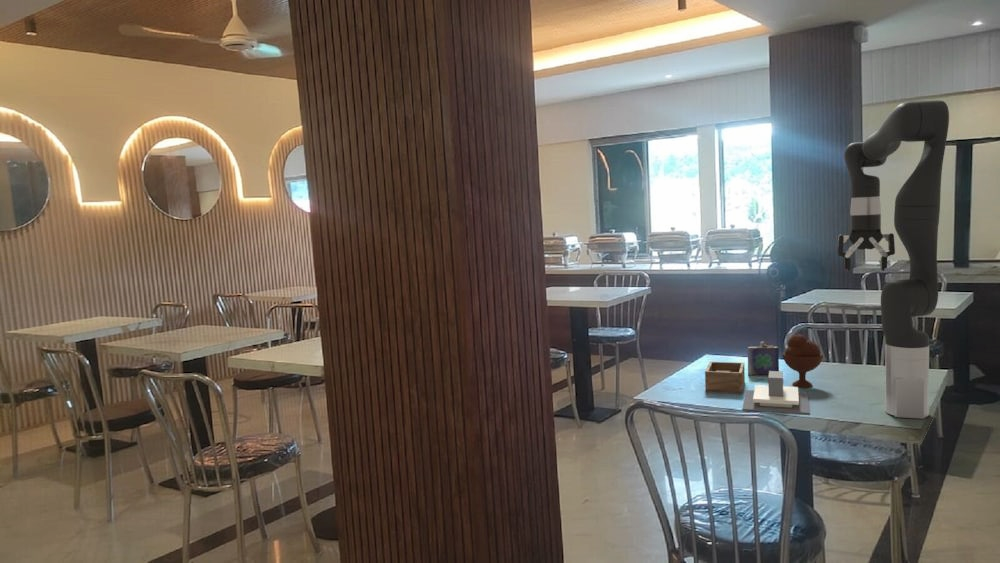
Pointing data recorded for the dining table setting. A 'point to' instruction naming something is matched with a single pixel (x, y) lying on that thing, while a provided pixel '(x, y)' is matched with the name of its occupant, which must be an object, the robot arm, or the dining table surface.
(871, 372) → the dining table surface
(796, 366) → the ice cream bowl
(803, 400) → the rubber mat
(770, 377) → the lid
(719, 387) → the storage box
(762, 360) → the flask
